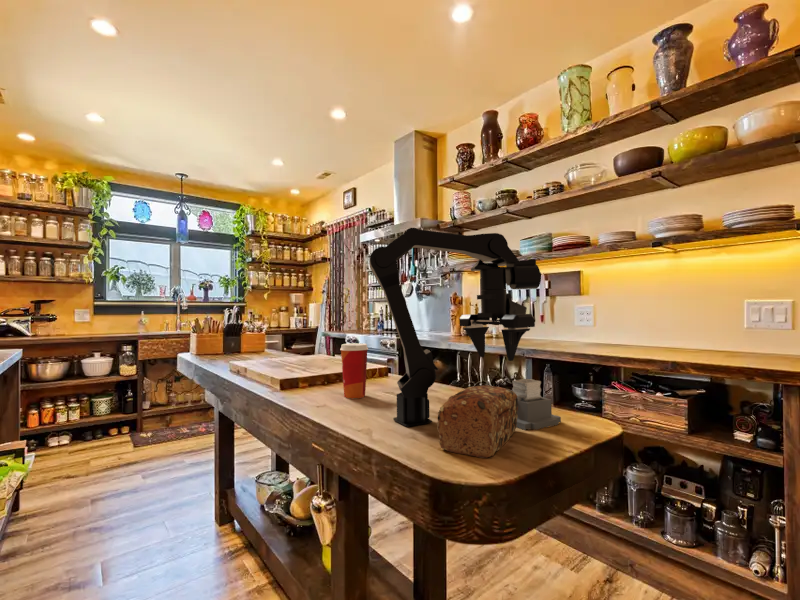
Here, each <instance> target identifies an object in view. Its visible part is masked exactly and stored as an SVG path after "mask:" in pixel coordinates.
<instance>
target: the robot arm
mask: <svg viewBox="0 0 800 600" xmlns="http://www.w3.org/2000/svg"><path fill="white" fill-rule="evenodd" d="M415 248H416V249H424V250H432V251H439V252H441V251H442V252H448V253H457V254H462V255H466V256H468V257H471V258H472V259H476V263H475V264H474V265H473V266H472V267H471V268H470V271H471V272H479V282H480V283H479V285H480V294H478V295H477V294H476V300H480V307H481V308H480V310H481V312H477V313H472V314H471V313H469V314H461V316H460V317H459V326H460V327H462V329H463V331H465V332H466V334H467V335H468V337H469V338H470V341H471V343H472V344H473V346H474V348H475V350H476V352H477V354H478V356H479V357H480V358H484V357H485V355H486V333H487V331H488V330H489V328H490V327H489V326H487V325H495V326H496V325H497V326H499V325H501V326H502V327H503V329H501V335H502V339H503V343H504V344H503V345H504V349H505V352H506V353H505V354H506V356H507V357H506V358H507V361H510V362H512V361H514V359H515V356H516V353H517V350H518V347H519V343H520V341H521V339H522V337H523V335H524V334H526V333H527V332H530V330H531V328H535V327H536V323H535V322H536V319H535V317H534V316H533V315H532V313H527V309H528V308H527V306H524V305H523V304H520V303H518V302H515V301H513V300H512V295H511V293H507V286H509V288H510V289H511V290H535V289H536V290H537V289H538V288H539V287H540V285H541V281H542V272H541V269H540V267H539V265H538V264H537V260H536V259H535V258H529V259H524V260H523V259H519V258H518V257H517V255H516V254H515V253H514V252H513V250H512V249H511V248H510V246H509V243H508V240H507V239H506V237H505V236H504V235H503V234H501V233H498V232H491V233H487V232H486V233H478V234H471V235H470V234H468V235H467V234H460V233H458V234H457V233H451V232H450V233H449V232H443V231H435V230H434V231H433V230H427V229H426V230H425V229H419V228H416V227H409V228H408V229H406V230H405V232H404V233H402V234H401V235H400V236H398V237H397V238H395V239H394V240H393V241H391V242H390V243H389V244H387V245H386V246H378V247H377V248H375V249H374V250H373V251H372V252H371V254H370V256H369V262H368V264H369V269H370V270H371V273H372V274H373V277H375V280H376V281H377V283H378V284H379V286H380V287H381V290H382V291H383V294H384V295H385V298H386V302H387V304H388V307H389V311H390V314H391V317H392V320H393V322H394V326H395V328H396V331H397V335H398V337H399V339H400V343H401V346H402V350H403V359H404V366H405V373H404V374H403V375H402V376H401V378H399V379H398V380H397V381H396V383H397V386H398V388H399V391H400V392H399V393H396V417H395V416H394V417H393V418H392V419H393V421H395V422H396V423H399V424H400V425H403V426H404V427H406V428H408V427H416V426H419V425H420V426H421V425H427V424H430V423H433V420H432V419H430V416H431V415H430V399H429V398H428V396H429V395H428V390H429V389H430V388H431V387H432V386H433V385H434V384H435V382H436V380H437V372H436V371H438V370H439V368H438V367H437V366H436V364H435V362H434V361H435V360H434V356H433V352H432V351H430V350H429V349H423V347H422V346H421V345H422V344H420V340H419V338H418V335H417V332H416V329H415V326H414V323H413V320H412V317H411V314H410V312H409V308H408V305H407V302H406V299H405V295H404V293H403V291H402V288H401V282H400V274H399V271H400V270H399V265H398V260H400V259H402V257H404V256H405V255H406V254H407V253H409V251H411V250H412V249H415Z"/></svg>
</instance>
